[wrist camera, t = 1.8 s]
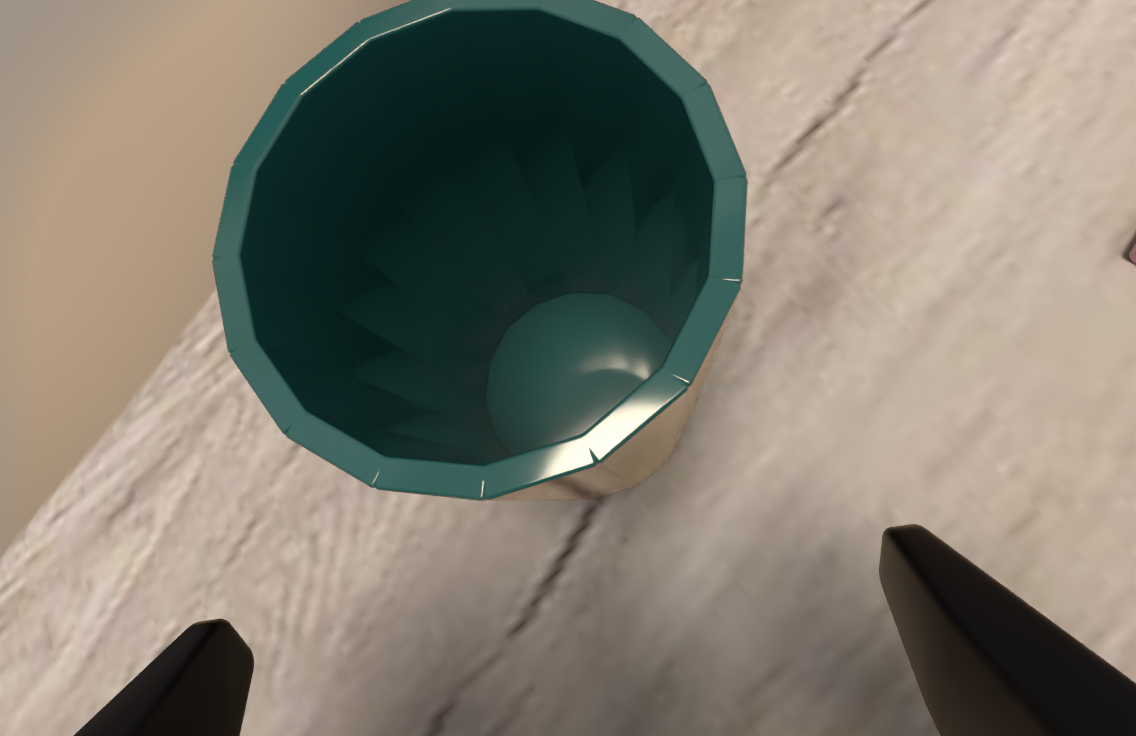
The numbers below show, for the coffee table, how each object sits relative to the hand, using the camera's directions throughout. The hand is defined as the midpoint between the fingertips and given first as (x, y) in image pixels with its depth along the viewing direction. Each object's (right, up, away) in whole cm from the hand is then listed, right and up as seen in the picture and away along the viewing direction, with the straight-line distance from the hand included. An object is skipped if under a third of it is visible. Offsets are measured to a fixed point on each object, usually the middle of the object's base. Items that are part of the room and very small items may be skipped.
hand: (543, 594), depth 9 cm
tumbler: (+1, +2, +12) cm, 12 cm away
